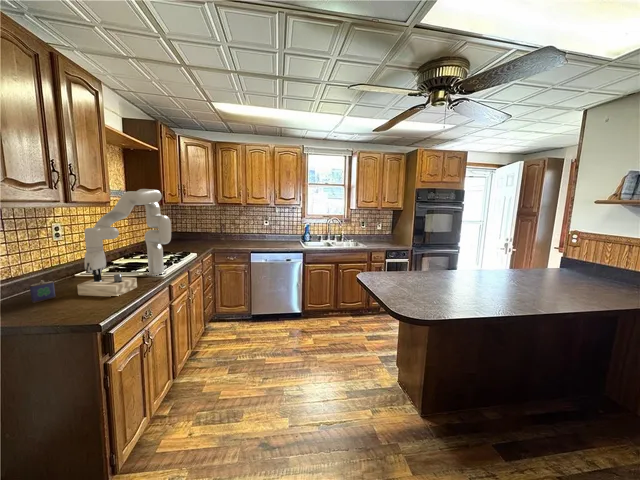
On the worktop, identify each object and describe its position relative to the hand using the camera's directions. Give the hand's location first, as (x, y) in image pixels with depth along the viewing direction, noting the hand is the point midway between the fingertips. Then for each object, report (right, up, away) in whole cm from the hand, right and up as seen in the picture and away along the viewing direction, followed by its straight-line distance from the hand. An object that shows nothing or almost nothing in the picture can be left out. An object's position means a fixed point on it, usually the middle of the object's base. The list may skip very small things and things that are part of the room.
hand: (97, 280), depth 158 cm
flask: (-17, -8, -14) cm, 23 cm away
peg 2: (+12, -2, 0) cm, 12 cm away
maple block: (+6, -6, +1) cm, 9 cm away
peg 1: (0, -5, +1) cm, 5 cm away
